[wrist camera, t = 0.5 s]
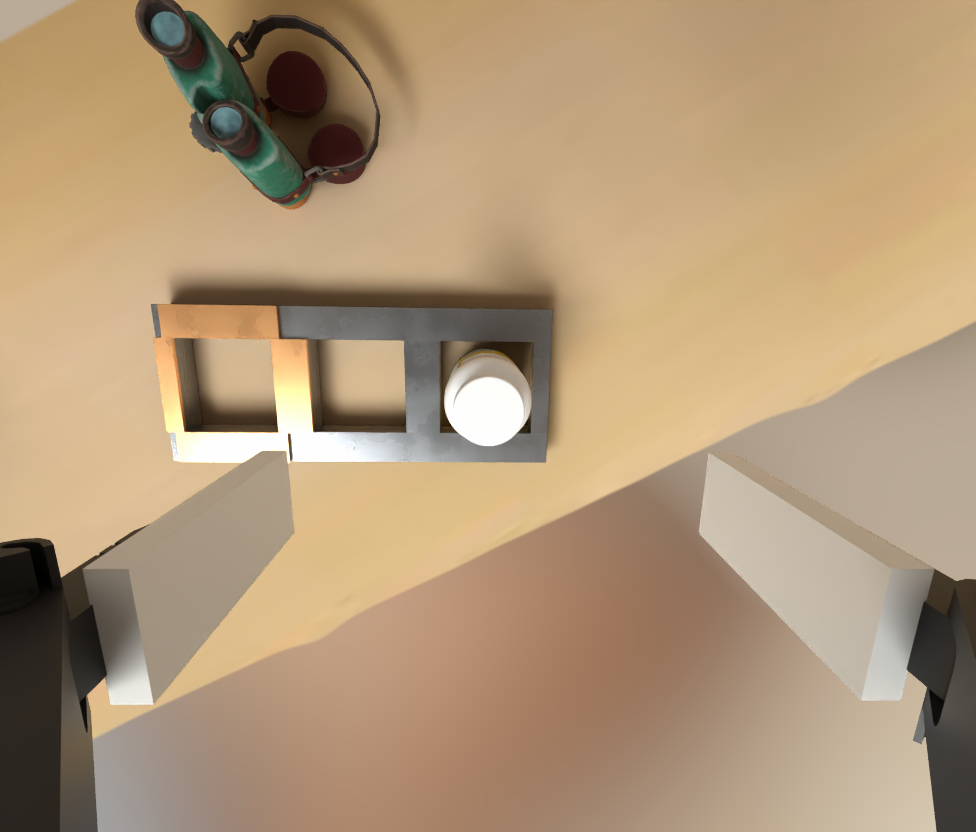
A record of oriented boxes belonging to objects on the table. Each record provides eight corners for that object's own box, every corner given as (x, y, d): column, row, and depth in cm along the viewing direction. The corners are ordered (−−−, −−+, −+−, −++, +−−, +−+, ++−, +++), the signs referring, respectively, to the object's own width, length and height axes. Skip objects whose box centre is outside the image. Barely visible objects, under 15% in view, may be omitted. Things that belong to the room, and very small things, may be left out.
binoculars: (390, 84, 22) (206, 191, 22) (404, 163, 32) (279, 235, 32) (278, -125, 20) (75, -8, 20) (331, 30, 30) (197, 107, 30)
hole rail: (190, 452, 36) (171, 461, 33) (170, 304, 33) (147, 304, 31) (542, 454, 36) (546, 463, 34) (548, 309, 34) (553, 309, 32)
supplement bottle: (492, 432, 36) (498, 477, 26) (435, 391, 35) (420, 422, 26) (535, 376, 35) (557, 402, 25) (477, 332, 34) (478, 343, 25)
